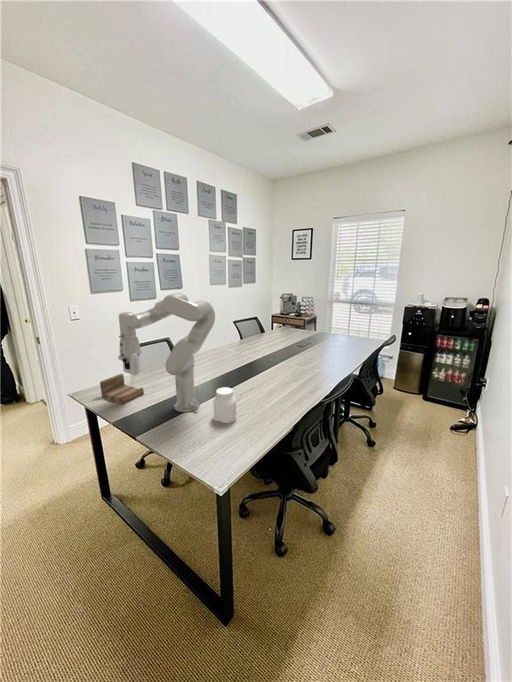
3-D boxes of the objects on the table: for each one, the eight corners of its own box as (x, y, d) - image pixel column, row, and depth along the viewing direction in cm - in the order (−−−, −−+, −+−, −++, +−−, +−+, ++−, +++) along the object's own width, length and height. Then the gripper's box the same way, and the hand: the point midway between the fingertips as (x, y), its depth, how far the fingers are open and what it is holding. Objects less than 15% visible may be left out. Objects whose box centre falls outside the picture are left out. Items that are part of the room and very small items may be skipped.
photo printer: (141, 373, 155) (139, 352, 151) (134, 376, 151) (132, 354, 148) (129, 369, 159) (127, 349, 156) (122, 372, 156) (120, 351, 152)
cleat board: (143, 394, 166) (142, 379, 163) (123, 404, 154) (121, 388, 151) (122, 388, 174) (120, 373, 171) (102, 397, 162) (99, 381, 159)
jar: (210, 419, 140) (209, 392, 136) (221, 410, 149) (220, 384, 145) (229, 425, 135) (229, 397, 131) (239, 416, 143) (239, 389, 140)
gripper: (119, 340, 140) (123, 373, 145) (145, 333, 155) (148, 364, 160) (109, 338, 144) (113, 371, 149) (136, 331, 158) (138, 361, 163)
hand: (131, 367), depth 154 cm, fingers closed on photo printer, 4 cm apart
